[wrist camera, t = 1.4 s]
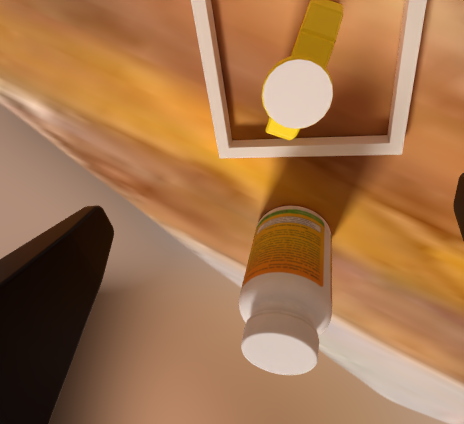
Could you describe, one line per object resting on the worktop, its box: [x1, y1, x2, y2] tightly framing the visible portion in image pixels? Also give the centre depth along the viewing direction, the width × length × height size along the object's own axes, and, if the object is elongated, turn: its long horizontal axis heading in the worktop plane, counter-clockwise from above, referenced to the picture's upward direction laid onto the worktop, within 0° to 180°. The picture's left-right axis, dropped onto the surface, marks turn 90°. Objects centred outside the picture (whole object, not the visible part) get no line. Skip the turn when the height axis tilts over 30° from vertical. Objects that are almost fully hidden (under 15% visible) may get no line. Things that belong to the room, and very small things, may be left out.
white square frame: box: [191, 0, 427, 158], centre depth 18 cm, size 10×10×1 cm
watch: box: [262, 0, 343, 141], centre depth 16 cm, size 6×3×6 cm, turn 166°
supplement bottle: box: [239, 206, 332, 375], centre depth 22 cm, size 5×5×10 cm
